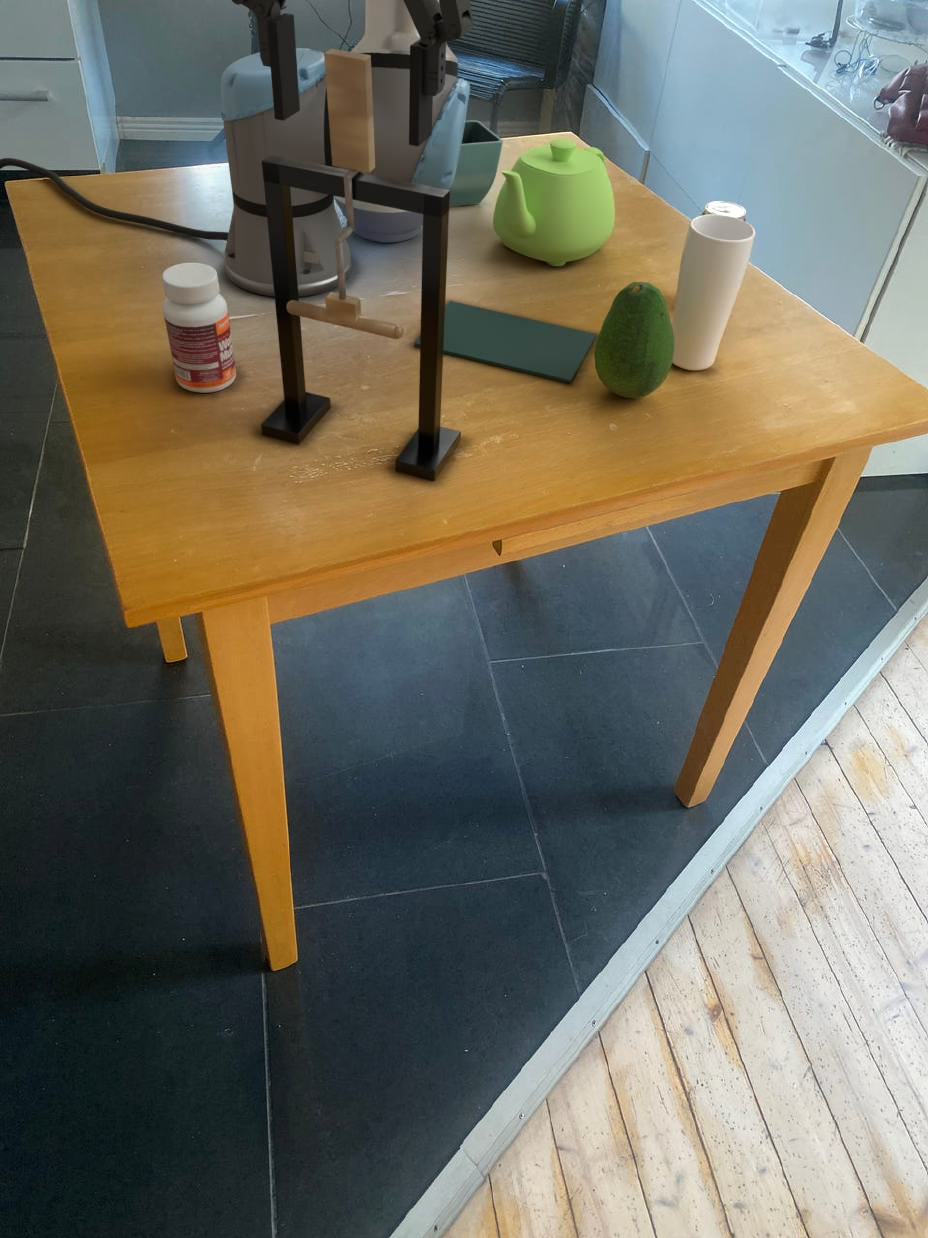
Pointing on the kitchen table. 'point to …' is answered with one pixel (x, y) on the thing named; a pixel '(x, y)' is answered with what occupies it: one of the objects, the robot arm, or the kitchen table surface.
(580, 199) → the teapot
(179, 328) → the pill bottle
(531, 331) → the mat
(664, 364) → the fruit
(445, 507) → the kitchen table surface
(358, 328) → the hanger
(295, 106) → the robot arm
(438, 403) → the rack
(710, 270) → the drinking glass
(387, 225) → the bowl
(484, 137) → the flower pot
